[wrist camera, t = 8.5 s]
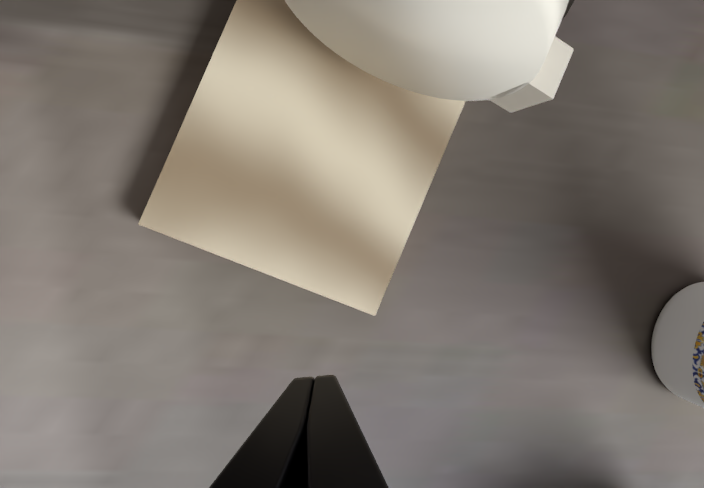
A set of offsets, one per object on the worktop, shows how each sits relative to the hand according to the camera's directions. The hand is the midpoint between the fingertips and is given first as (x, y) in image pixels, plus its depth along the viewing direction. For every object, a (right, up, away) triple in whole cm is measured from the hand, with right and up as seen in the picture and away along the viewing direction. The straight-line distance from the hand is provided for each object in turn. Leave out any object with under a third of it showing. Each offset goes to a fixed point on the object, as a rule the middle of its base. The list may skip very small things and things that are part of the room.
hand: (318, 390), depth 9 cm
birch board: (0, +10, +10) cm, 14 cm away
